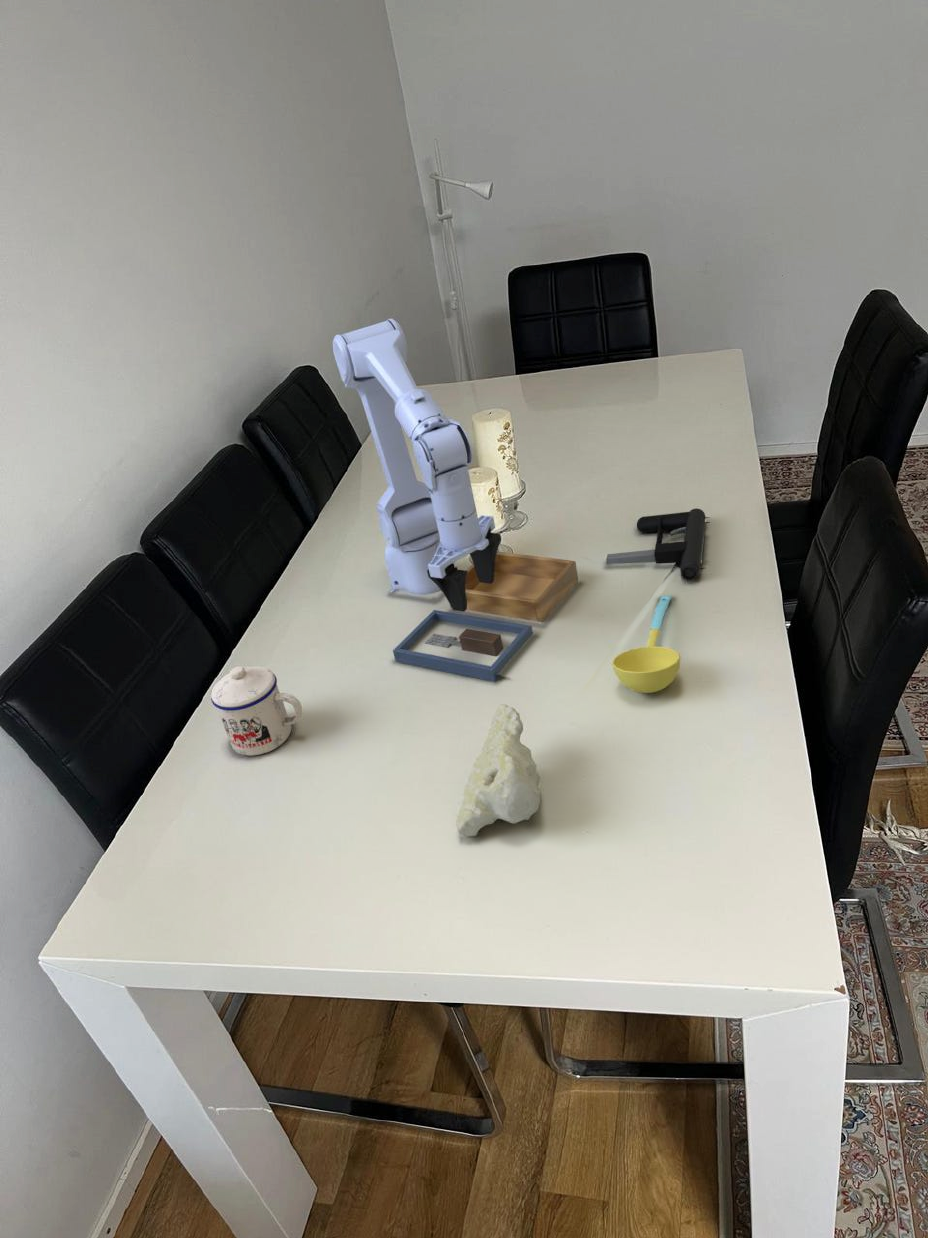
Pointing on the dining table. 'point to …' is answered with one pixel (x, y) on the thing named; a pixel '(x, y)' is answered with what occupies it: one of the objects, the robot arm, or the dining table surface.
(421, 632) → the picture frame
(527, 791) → the white rock
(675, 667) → the ladle
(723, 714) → the dining table surface
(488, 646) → the fork
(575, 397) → the dining table surface
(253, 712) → the teacup with lid
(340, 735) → the dining table surface
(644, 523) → the submachine gun
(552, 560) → the wooden box
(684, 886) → the dining table surface
